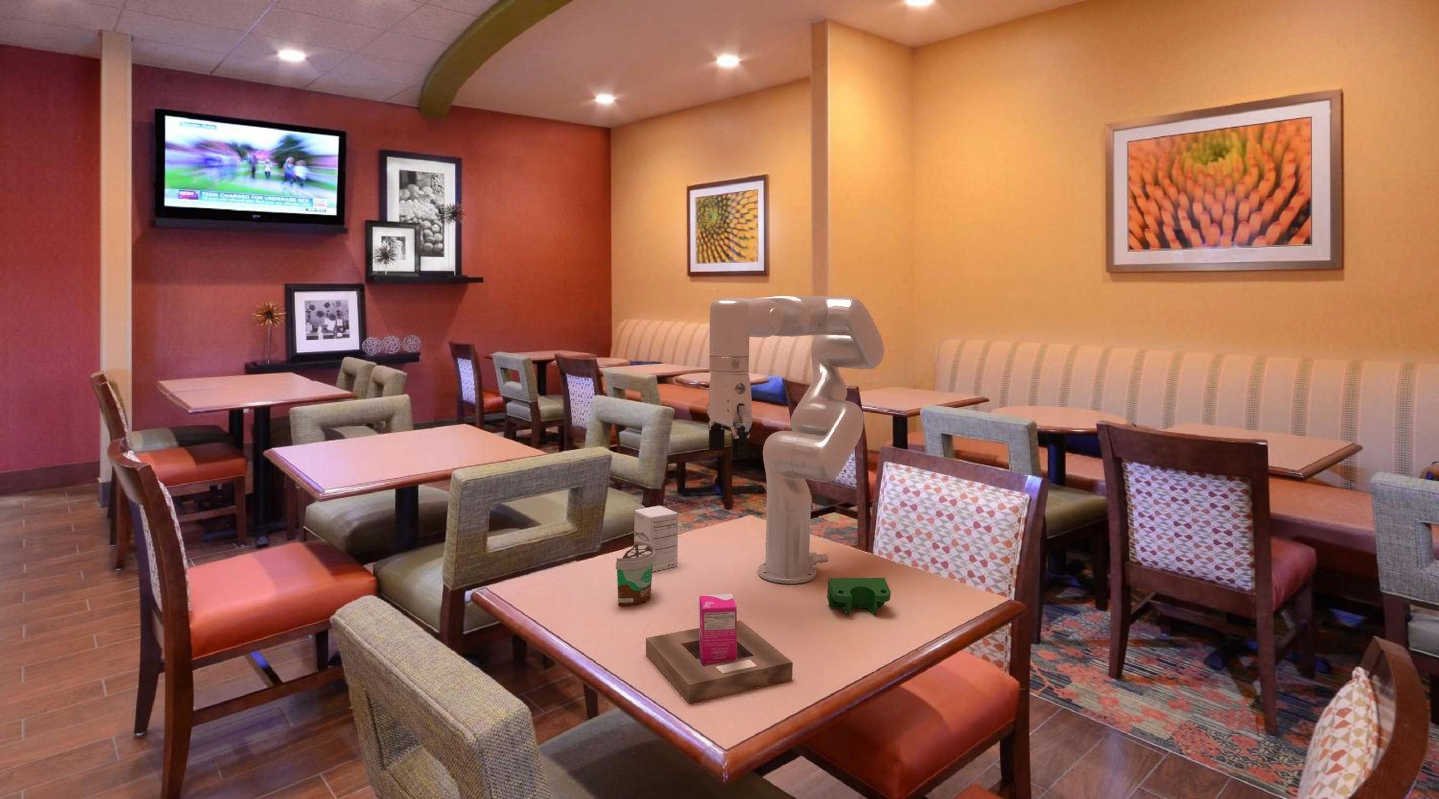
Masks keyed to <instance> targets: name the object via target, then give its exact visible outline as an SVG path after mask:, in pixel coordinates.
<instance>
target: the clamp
mask: <svg viewBox="0 0 1439 799" xmlns="http://www.w3.org/2000/svg"><path fill="white" fill-rule="evenodd" d="M891 594H892V592H891V588H890V587H889V585H888V583H887V580H886V578H885V577H828V582H827V593H826V599H827V602H828V604H829V607H830V608H832V609H842V608H843V609H844V612H845V614H846V617H850V616H851V609H853V608H857V609H859V608H866V609H867V610H869V611H870V612H871V613H872V616H877V608H882V607H883V606H884V605H885V603H886V602H889V601H891Z"/></svg>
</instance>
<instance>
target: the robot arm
mask: <svg viewBox="0 0 1439 799" xmlns="http://www.w3.org/2000/svg"><path fill="white" fill-rule="evenodd" d="M772 336H774V337H785V338H786V337H790V338H791V337H792V338H793V337H794V338H795V337H805V336H814V337H813V340H812V342H811V349H810V352H811V354H810V355H811V363H812V364H811V365H812V381H811V383H810V385H809V387H808V388H807V390H806V391H805V392H804V394H803V396H802V398H801V399H800V401H799V403H798V404H797V406H796V407H795V408H794V410H793V412H792V415H791V417H790V429H791V430H781V431H780V430H779V431H776V432H774V433H773V432H772V433H771V434H770V435H769V436H768V437H767V438H766V439H765V442H764V443H763V449H762V457H763V459H762V460H763V464H764V470H765V476H766V514H765V515H766V519H765V520H766V522H765V525H766V526H765V562H763V563H762V564H760V565H759V566H758V569H757V573H758V575H759V577H761V578H762V579H764V580H766V581H768V582H771V583H772V582H773V583H777V584H785V585H794V584H795V585H796V584H802V583H803V584H804V583H807V582H811V581H812V580H814V579H815V578H816V576H817V570H816V568H815V567H814V566H817V564H825V563H828V562H829V555H828V554H827V553H820V554H817V552H815V551H813V552H810V548H811V547H810V541H811V513H812V512H811V508H812V495H811V490H810V488H809V486H808V485H809V484H808V482H807V481H806V480H810V481H814V482H822V483H828V482H832V481H834V480H836V479H837V477H838V476H840V474H841V472H842V471H843V469H844V467H845V466H846V464H847V462H848V460H849V459H850V457H851V455H852V453H853V451H854V449H855V448H856V446H857V444H858V443H859V440H860V439H861V437H862V433H863V429H864V421H865V420H864V414H863V411H862V409H861V408H860V406H859V405H858V404H856V403H855V402H852V401H850V400H846V399H847V396H848V388H847V386H846V383H845V381H844V378H843V377H842V375H841V374H840V370H839V368H841V369H853V370H872V369H876V368H877V367H878V366H879V365H881V363H882V361H883V359H884V355H885V348H884V347H885V344H884V342H883V338H882V334H880V332H879V329H878V327H877V325H876V323H875V321H874V319H873V317H872V315H871V314H870V312H869V310H868V309H867V307H866V306H865V304H864V303H863V302H862V301H861V300H860V299H859V298H857V297H854V296H840V295H839V296H836V295H835V296H833V295H831V296H829V295H779V296H769V297H768V296H767V297H766V296H765V297H725V298H722V299H716V300H713V301H712V302H711V303H710V306H709V340H708V341H709V343H708V345H709V355H708V356H709V357H708V365H709V366H708V373H709V374H710V378H709V386H708V387H709V389H708V403H707V404H706V406H705V408H706V413H707V416H706V419H707V422H708V423H707V424H708V425H707V428H708V450H710V451H717V450H718V451H719V450H724V449H725V446H726V445H725V441H726V440H725V435H726V434H725V433H726V432H725V428H724V427H728V428H730V430H731V433H732V436H733V438H731V453H730V454H731V457H730V458H731V460H733V461H739V460H747V459H748V458H749V438H750V435H751V434H750V433H751V431H752V424H753V421H754V420H753V404H752V402H753V401H752V389H751V388H752V387H751V386H752V385H751V379H750V338H769V337H772Z"/></svg>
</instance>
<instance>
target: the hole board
mask: <svg viewBox="0 0 1439 799" xmlns="http://www.w3.org/2000/svg"><path fill="white" fill-rule="evenodd" d="M645 655H646V657H647V658H648V659H649V660H650V661H651V662H652V663H653V665H654V666H655V667H656V668H657V669H658V670H659V671H660V673H661V674H662V675H663V676H664V677H665V678H666V680H668V682H669V683H670V684H671V685H672V686H673V687H674V688H675V690H676V691H677V692H678V693H679V694H680V696H682V698H683V699H684V700H685V702H687V704H689V705H690V704H693V703H698V702H702V701H707V700H710V699H711V700H712V699H715V698H720V697H724V696H728V695H733V694H737V693H741V692H742V693H743V692H746V691H750V690H753V689H759V688H764V687H767V686H771V685H777V684H780V683H786V682H789V681H792V680H793V664H794V663H793V661H792V660H790V659H789V658H788V657H787V656H786V655H784V654H783V653H782V652H781V651H780V650H778V649H777V648H776V647H774V646H773V645H772V644H771V643H769V642H768V641H767V640H766V639H764V638H763V637H762V636H761V635H759V634H758V633H757V632H756V631H754V630H753V629H752V627H750V626H749V625H747V624H746V623H745V622H743V621H742V620H740V619H739V620H737V660H732V661H727V662H722V663H718V664H713V665H708V666H703V665H702V664H701V661H699V660H698V659H697V658H700V627H697V628H692V629H687V630H680V631H677V632H676V631H675V632H670V633H666V634H665V633H664V634H658V635H654V636H649V637H645Z"/></svg>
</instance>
